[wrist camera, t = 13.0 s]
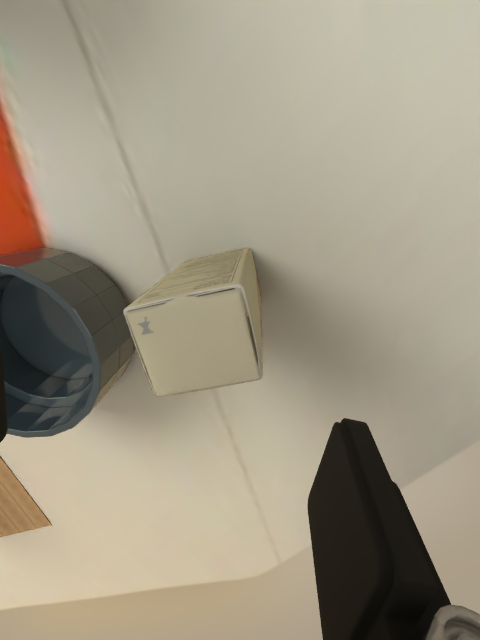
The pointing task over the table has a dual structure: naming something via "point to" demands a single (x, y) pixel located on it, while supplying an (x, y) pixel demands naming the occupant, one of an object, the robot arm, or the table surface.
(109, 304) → the round storage tub
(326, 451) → the robot arm
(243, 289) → the box
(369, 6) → the table surface
